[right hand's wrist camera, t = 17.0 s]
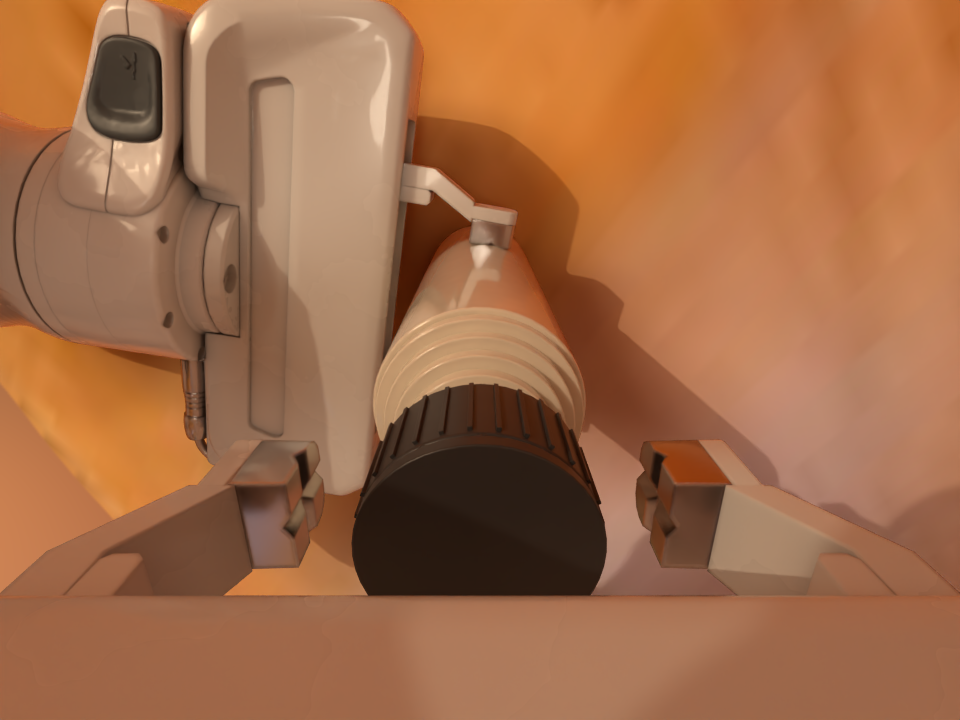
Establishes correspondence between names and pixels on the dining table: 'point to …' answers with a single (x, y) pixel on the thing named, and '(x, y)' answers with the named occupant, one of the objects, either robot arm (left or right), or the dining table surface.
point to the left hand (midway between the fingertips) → (499, 306)
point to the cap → (479, 501)
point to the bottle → (479, 335)
